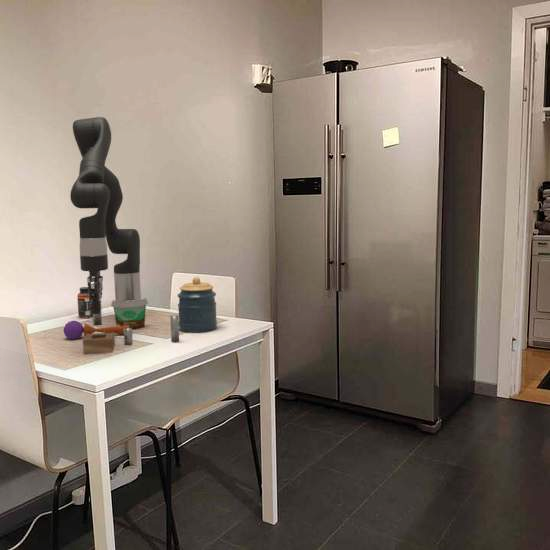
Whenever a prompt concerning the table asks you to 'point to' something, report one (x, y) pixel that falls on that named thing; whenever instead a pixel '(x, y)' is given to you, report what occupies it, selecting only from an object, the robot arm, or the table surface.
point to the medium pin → (174, 328)
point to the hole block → (98, 343)
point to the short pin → (128, 336)
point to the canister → (197, 307)
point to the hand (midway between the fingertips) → (96, 312)
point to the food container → (130, 313)
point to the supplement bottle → (84, 303)
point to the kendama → (89, 329)
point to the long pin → (97, 316)
